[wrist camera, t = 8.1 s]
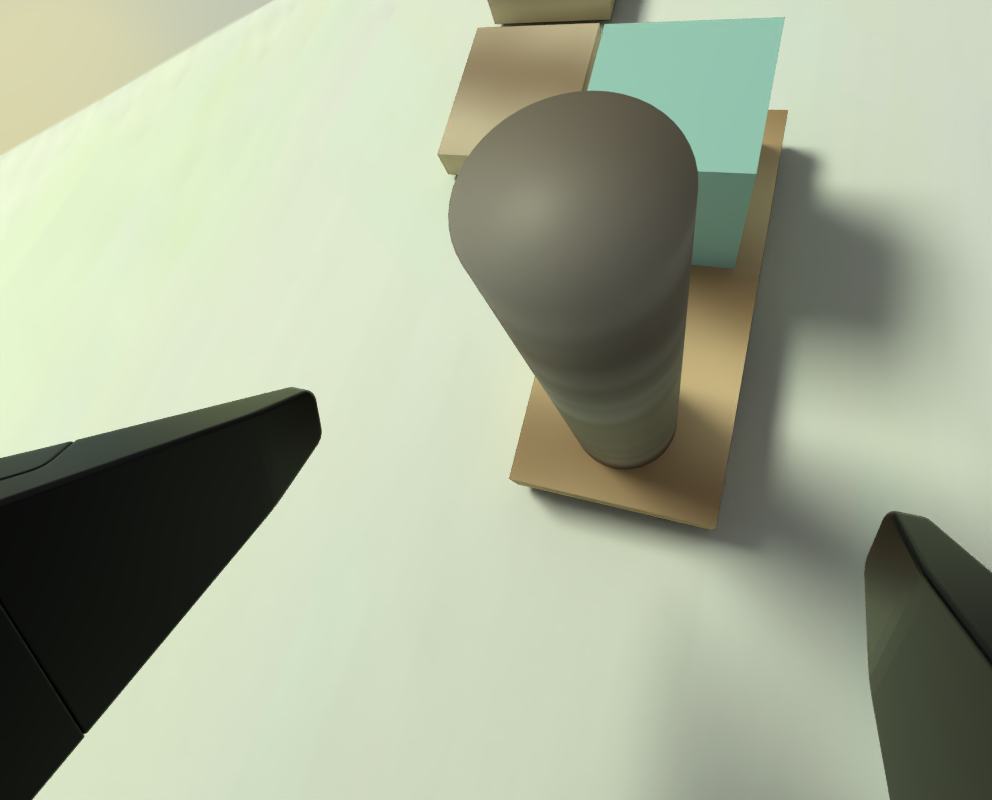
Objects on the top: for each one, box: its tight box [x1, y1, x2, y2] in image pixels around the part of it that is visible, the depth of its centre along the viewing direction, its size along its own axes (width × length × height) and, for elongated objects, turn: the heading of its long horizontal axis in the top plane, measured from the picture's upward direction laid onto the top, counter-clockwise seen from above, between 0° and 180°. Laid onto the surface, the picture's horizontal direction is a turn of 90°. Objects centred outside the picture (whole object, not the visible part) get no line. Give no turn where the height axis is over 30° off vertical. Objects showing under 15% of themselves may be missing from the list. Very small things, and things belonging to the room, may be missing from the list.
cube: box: [587, 17, 785, 269], centre depth 16 cm, size 4×4×4 cm
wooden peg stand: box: [448, 91, 788, 530], centre depth 13 cm, size 14×6×12 cm, turn 165°
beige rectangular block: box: [438, 0, 615, 175], centre depth 23 cm, size 14×5×1 cm, turn 165°
